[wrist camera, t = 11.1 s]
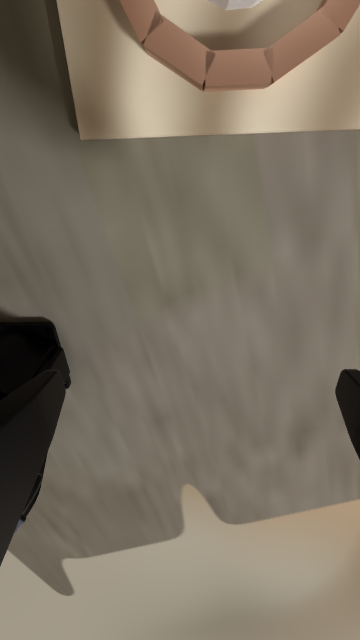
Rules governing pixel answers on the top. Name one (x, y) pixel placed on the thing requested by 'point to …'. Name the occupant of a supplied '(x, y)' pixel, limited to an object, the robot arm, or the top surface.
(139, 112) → the collar board
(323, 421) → the top surface
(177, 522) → the top surface
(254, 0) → the white cylinder
